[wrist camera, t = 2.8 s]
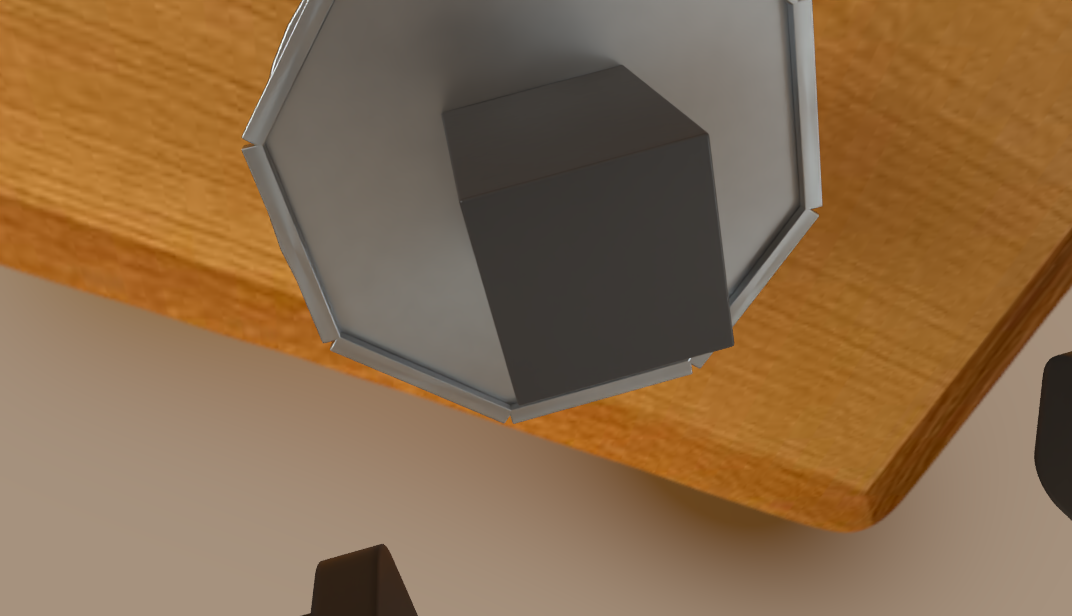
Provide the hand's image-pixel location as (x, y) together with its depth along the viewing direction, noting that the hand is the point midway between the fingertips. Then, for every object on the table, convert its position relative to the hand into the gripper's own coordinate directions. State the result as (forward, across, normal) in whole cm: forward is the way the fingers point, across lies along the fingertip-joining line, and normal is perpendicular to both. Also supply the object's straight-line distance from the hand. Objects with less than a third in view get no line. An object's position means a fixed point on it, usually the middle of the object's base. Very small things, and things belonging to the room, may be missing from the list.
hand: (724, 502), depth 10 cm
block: (+12, 0, 0) cm, 12 cm away
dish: (+23, 0, 0) cm, 23 cm away
